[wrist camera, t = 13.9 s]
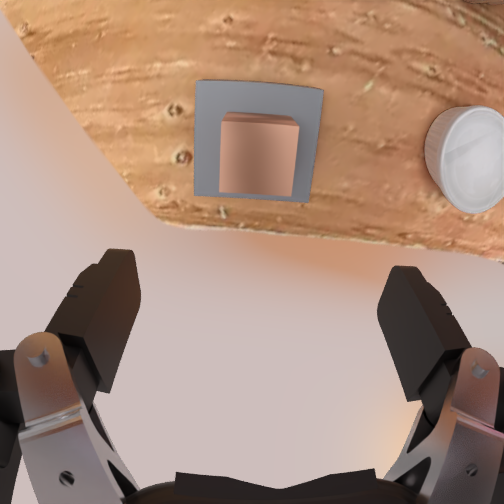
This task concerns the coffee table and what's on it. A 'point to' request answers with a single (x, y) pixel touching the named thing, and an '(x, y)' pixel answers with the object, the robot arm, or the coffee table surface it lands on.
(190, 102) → the coffee table surface
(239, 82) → the slate base
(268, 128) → the terracotta cube
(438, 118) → the ramekin
